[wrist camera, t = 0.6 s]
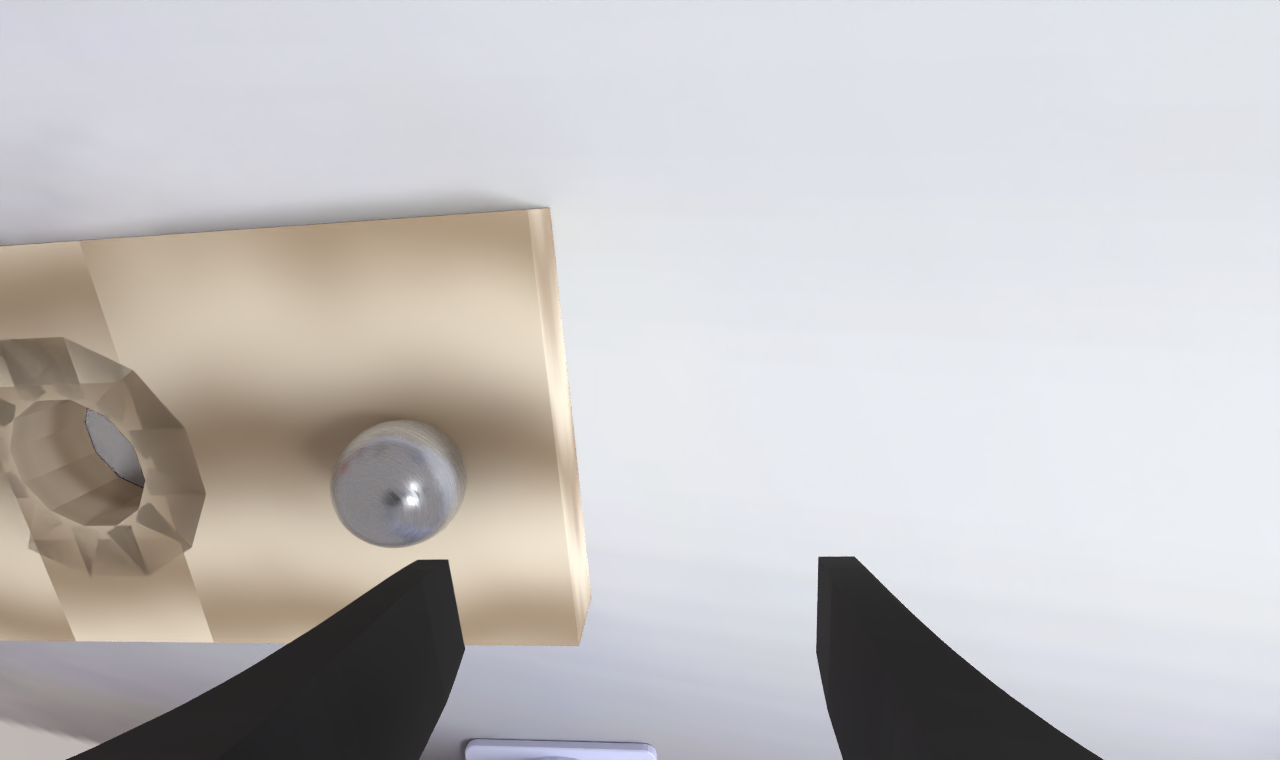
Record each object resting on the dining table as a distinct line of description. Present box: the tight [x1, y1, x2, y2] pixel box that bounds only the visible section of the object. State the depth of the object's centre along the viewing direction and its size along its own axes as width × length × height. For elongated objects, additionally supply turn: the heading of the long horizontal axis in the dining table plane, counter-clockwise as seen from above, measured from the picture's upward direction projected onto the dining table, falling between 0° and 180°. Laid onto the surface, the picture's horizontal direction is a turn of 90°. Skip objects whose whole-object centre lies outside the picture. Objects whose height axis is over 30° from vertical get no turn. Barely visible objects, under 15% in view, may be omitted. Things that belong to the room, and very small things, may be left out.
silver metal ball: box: [330, 420, 467, 548], centre depth 16 cm, size 4×4×4 cm
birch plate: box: [0, 208, 591, 646], centre depth 20 cm, size 14×22×2 cm, turn 94°
